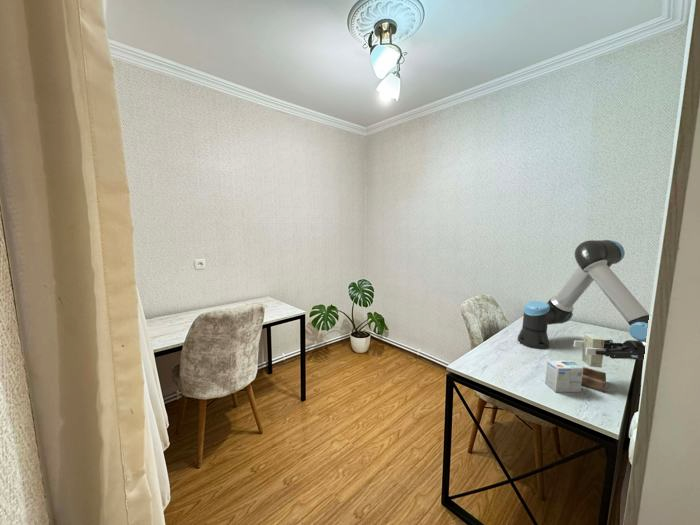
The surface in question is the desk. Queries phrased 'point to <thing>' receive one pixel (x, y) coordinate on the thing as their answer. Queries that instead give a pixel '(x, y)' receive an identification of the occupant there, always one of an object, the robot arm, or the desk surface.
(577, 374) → the light bulb box
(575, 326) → the desk surface
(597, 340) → the skincare box
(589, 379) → the walnut holder
